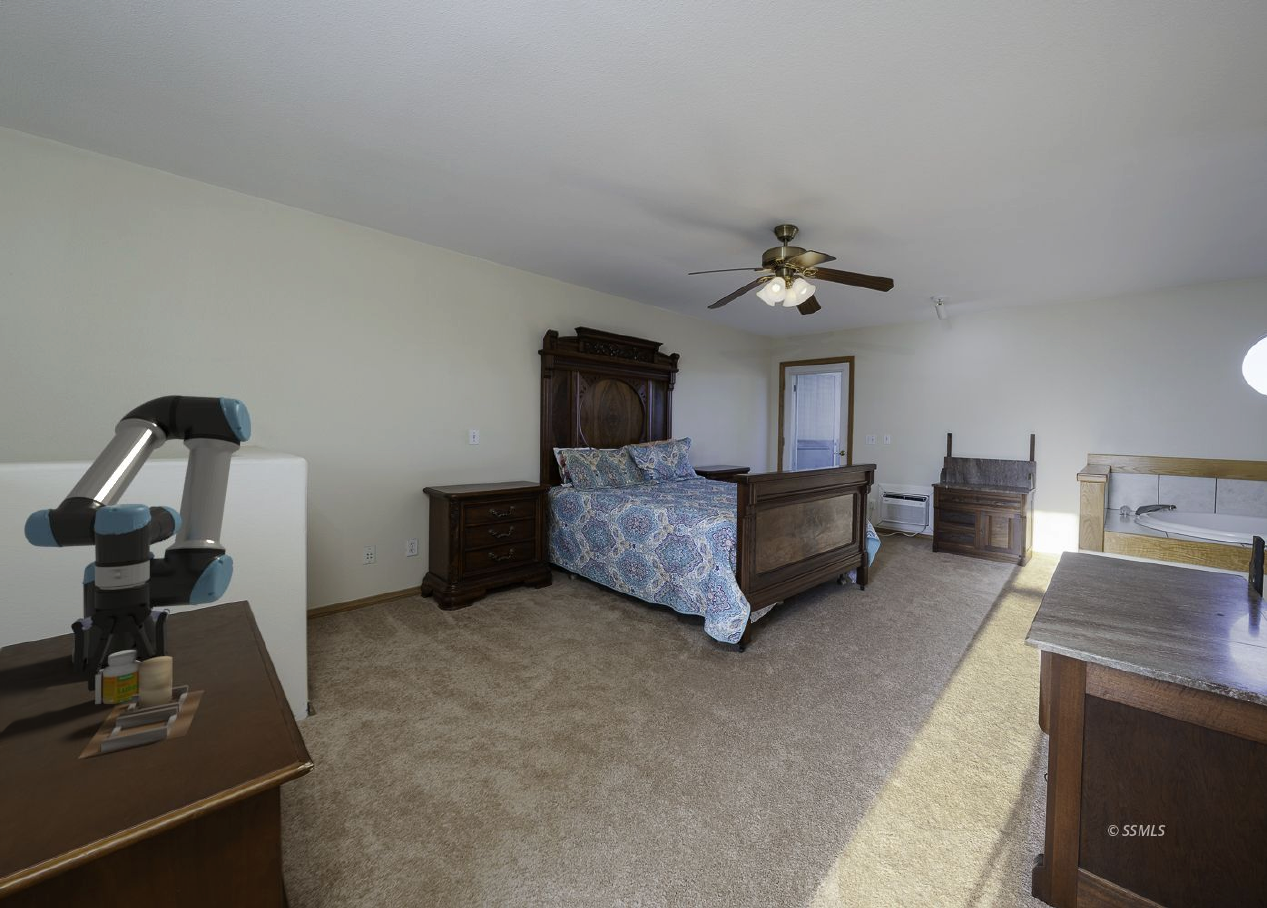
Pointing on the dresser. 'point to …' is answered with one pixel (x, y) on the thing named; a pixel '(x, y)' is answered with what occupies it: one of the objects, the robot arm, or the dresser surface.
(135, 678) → the supplement bottle
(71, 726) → the dresser surface
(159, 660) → the beech dowel
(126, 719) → the board
